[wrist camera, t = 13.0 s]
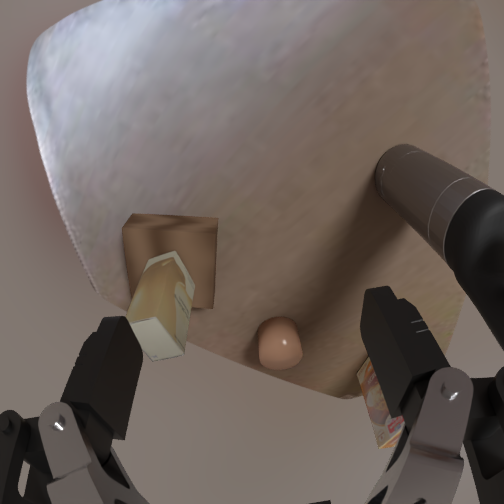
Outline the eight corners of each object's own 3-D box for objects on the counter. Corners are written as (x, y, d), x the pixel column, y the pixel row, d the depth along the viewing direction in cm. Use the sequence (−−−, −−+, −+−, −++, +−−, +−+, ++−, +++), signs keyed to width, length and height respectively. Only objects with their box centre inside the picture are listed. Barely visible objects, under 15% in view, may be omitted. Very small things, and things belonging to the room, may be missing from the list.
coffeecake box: (386, 326, 53) (424, 409, 37) (413, 328, 54) (452, 404, 38) (354, 374, 61) (377, 450, 44) (380, 374, 62) (405, 445, 45)
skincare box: (196, 285, 41) (187, 357, 30) (168, 293, 41) (153, 364, 31) (174, 247, 37) (155, 317, 27) (145, 257, 38) (120, 326, 27)
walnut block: (218, 216, 41) (215, 233, 37) (215, 287, 47) (213, 308, 43) (133, 212, 40) (121, 228, 36) (140, 281, 46) (132, 301, 42)
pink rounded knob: (296, 314, 50) (302, 340, 45) (297, 341, 54) (302, 367, 49) (255, 319, 50) (257, 345, 45) (259, 346, 54) (261, 372, 49)
